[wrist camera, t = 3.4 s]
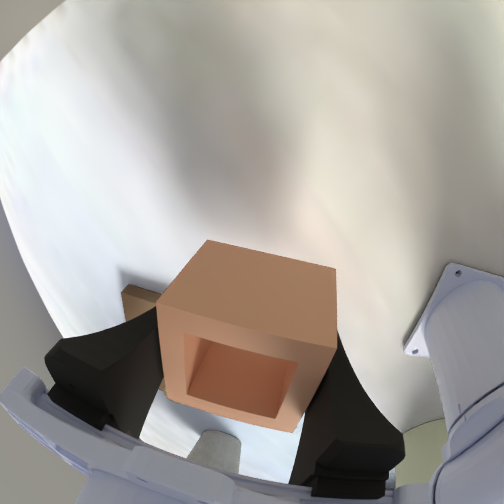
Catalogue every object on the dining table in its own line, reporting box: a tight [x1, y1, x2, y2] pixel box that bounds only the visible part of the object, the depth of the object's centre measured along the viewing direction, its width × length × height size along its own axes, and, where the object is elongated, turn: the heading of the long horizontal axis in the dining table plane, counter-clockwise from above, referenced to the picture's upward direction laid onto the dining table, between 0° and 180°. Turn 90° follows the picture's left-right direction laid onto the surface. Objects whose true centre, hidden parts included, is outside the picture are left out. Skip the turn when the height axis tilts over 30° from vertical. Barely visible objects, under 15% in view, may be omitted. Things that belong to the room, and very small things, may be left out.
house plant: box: [186, 430, 241, 474], centre depth 25 cm, size 14×14×16 cm
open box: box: [156, 240, 337, 433], centre depth 13 cm, size 6×6×5 cm
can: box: [395, 419, 448, 488], centre depth 20 cm, size 9×9×12 cm
